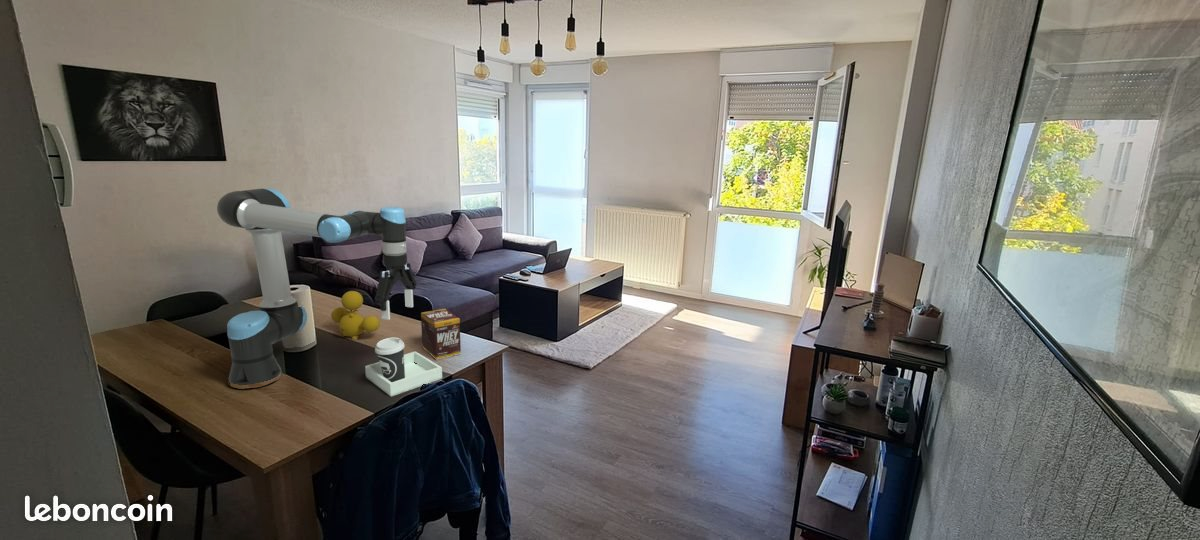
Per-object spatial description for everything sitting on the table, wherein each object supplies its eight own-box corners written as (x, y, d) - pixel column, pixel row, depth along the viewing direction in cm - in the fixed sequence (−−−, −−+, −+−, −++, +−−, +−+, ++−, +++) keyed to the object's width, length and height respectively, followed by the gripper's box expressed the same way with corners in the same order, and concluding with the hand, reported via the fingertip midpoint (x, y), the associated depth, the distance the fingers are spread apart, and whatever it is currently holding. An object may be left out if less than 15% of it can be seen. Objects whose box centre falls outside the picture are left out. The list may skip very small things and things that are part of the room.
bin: (390, 396, 162) (390, 384, 161) (366, 377, 174) (365, 366, 173) (442, 378, 176) (441, 367, 175) (415, 362, 188) (415, 351, 187)
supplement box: (436, 361, 190) (434, 323, 186) (422, 347, 201) (420, 312, 197) (461, 354, 196) (460, 318, 193) (446, 342, 208) (445, 307, 204)
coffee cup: (409, 385, 168) (403, 346, 163) (379, 390, 165) (372, 351, 160) (409, 371, 177) (404, 334, 172) (381, 376, 174) (375, 338, 169)
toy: (322, 333, 211) (317, 289, 206) (343, 326, 220) (339, 283, 215) (363, 346, 200) (360, 300, 195) (384, 338, 209) (381, 294, 204)
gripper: (381, 262, 152) (385, 326, 157) (425, 247, 175) (427, 303, 181) (360, 260, 153) (364, 323, 158) (406, 245, 177) (409, 301, 182)
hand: (398, 312), depth 169 cm, fingers open, 13 cm apart
